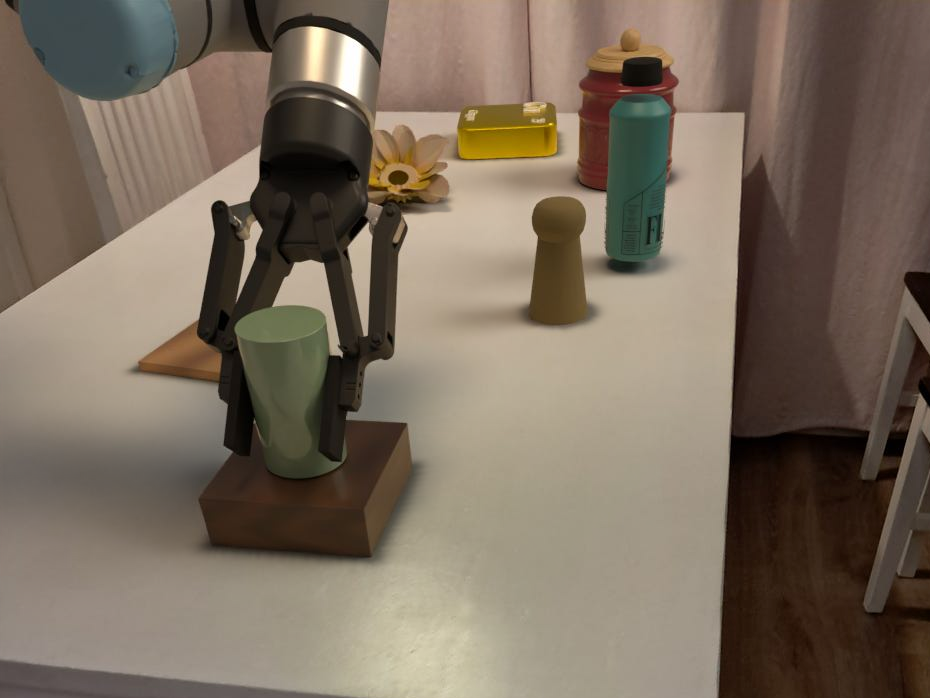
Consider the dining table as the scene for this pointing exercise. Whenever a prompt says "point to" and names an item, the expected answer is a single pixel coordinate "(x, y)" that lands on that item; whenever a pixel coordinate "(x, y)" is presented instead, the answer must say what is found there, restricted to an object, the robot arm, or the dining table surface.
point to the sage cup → (287, 386)
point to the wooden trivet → (184, 357)
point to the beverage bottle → (637, 165)
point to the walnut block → (312, 496)
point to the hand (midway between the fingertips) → (283, 453)
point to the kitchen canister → (604, 93)
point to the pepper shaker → (558, 262)
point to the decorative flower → (406, 166)
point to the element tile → (507, 131)
